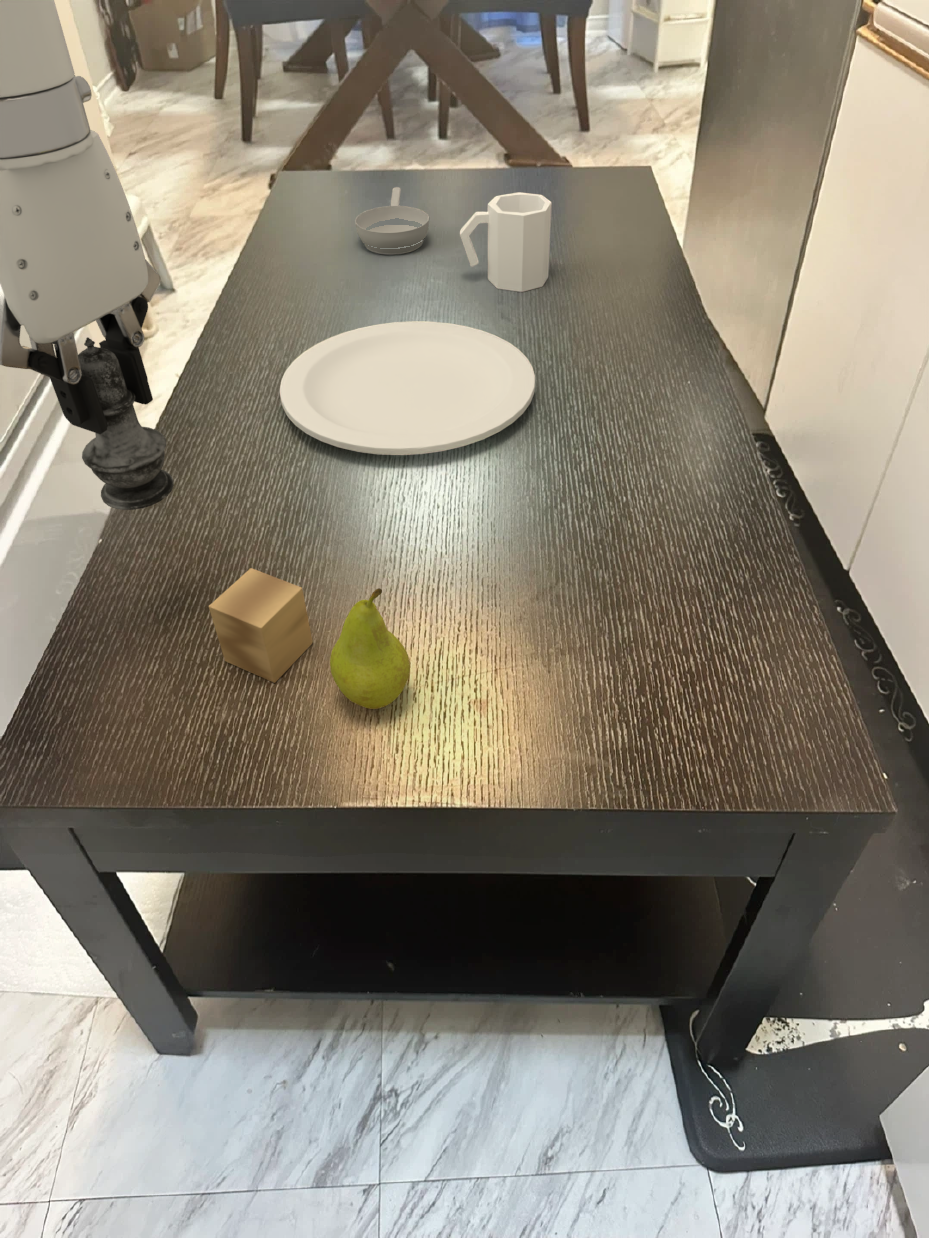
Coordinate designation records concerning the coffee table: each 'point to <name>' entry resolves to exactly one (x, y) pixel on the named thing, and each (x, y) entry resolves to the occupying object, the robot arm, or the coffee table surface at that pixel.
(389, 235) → the small pan
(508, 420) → the plate
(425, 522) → the coffee table surface
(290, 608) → the maple block
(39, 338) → the robot arm
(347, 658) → the fruit
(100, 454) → the grey chess bishop
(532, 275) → the mug
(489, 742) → the coffee table surface
